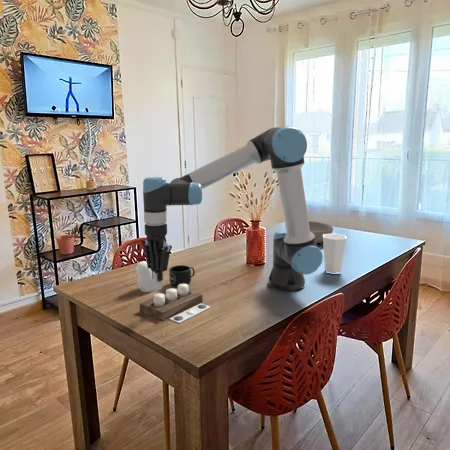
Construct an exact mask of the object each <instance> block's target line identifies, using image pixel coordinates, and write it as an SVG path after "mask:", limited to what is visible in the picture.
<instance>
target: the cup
mask: <svg viewBox="0 0 450 450" xmlns="http://www.w3.org/2000/svg"><path fill="white" fill-rule="evenodd" d="M347 239H348V238H347V235H345V234H342V233H341V234H340V233H333V232H332V233H331V234H323V243H322V245H323V246H322V247H323V260H324V264H323V265H324V272H325V271H327V272H331V273H336V272H341V273H342V267H343V261H344V256H345V255H344V254H345V252H346V251H345V250H346V245H347Z"/></svg>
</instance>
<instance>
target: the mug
mask: <svg viewBox="0 0 450 450" xmlns="http://www.w3.org/2000/svg"><path fill="white" fill-rule="evenodd" d="M168 272H169V273H168V274H169V275H168V276H169V277H168V278H169V283H170V284H171V285H172V286H173V287H176V288H178V285H179V284H188V285H189V284H191V282H192V281H191V280H192V278H193V277H195V273H196V271H195V268H194V267H193V266H188V265H184V264H180V265H178V264H177V265H173V266H171V267H169V269H168Z"/></svg>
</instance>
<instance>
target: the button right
mask: <svg viewBox="0 0 450 450" xmlns="http://www.w3.org/2000/svg"><path fill="white" fill-rule="evenodd" d="M177 288H178V295H179V296H181V297H185V296H187V295H189V290H190V288H189V284H179V285H178V287H177Z"/></svg>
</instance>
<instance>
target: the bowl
mask: <svg viewBox="0 0 450 450" xmlns="http://www.w3.org/2000/svg"><path fill="white" fill-rule="evenodd" d="M308 221H309V228H310V232H312V233H313V234H314V235H315V240H316V245H318V244H317V243H320V244H323V243H322V242H323V234H331V233H333V231H334V227H333V226H332V225H330V224H328V223H324V222H318V221H313V220H312V221H311V220H308ZM284 226H285V225H284ZM285 228H286V226H285Z"/></svg>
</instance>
